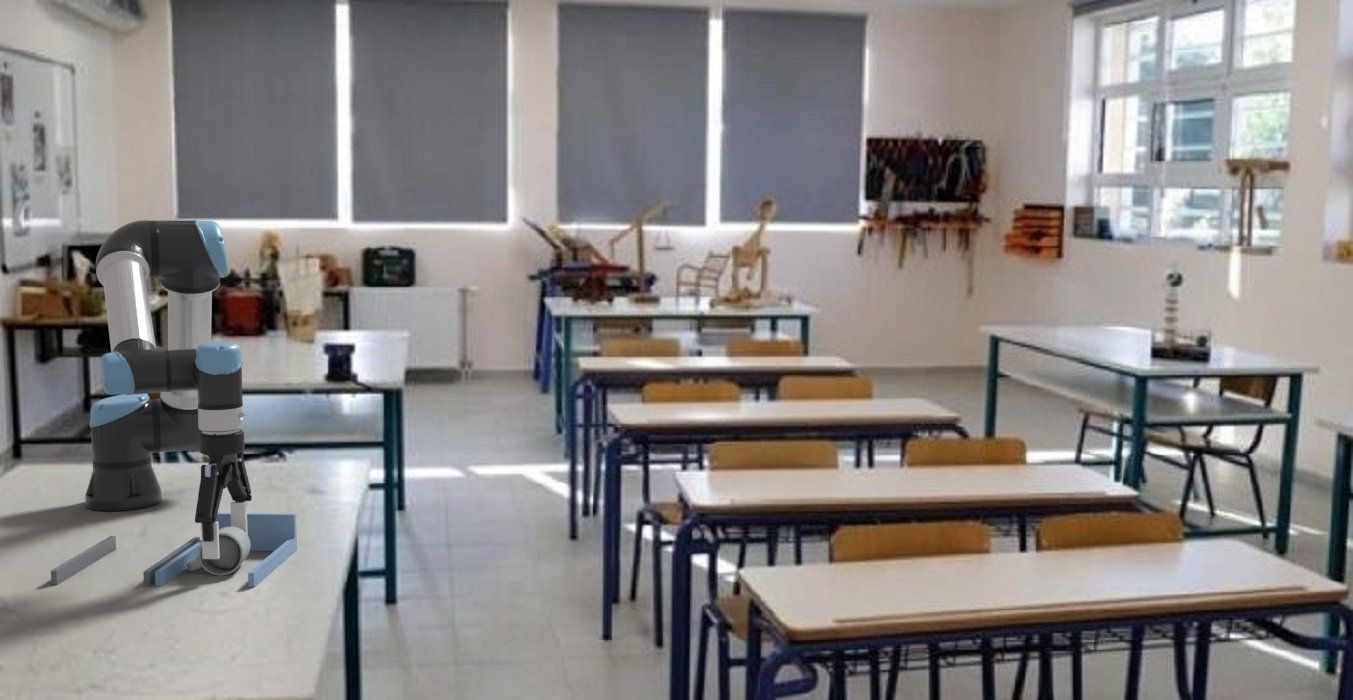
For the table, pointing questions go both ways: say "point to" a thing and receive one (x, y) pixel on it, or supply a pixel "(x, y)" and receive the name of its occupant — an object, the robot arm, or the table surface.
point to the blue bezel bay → (263, 535)
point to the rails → (102, 550)
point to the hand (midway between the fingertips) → (225, 547)
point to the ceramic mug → (225, 553)
